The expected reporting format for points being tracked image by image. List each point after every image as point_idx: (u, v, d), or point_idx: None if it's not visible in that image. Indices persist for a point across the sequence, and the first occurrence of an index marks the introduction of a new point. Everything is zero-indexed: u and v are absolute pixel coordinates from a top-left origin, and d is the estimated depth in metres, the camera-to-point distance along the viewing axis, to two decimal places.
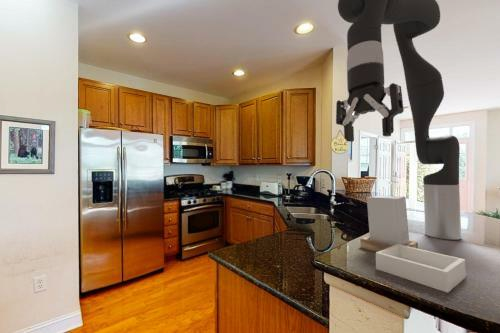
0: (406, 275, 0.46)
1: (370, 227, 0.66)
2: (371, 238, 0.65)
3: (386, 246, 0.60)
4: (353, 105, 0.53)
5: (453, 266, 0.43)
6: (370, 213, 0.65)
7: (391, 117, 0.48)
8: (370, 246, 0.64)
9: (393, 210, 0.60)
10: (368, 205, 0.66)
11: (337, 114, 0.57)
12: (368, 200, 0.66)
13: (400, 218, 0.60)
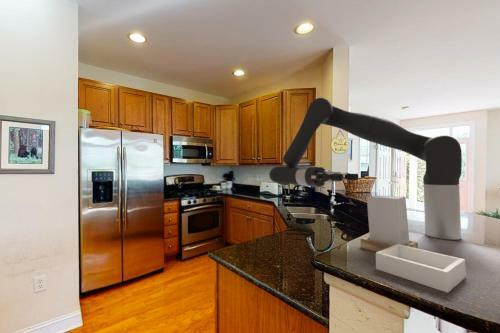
0: (406, 275, 0.46)
1: (370, 227, 0.66)
2: (371, 238, 0.65)
3: (386, 246, 0.60)
4: (332, 181, 0.81)
5: (453, 266, 0.43)
6: (370, 213, 0.65)
7: (329, 177, 0.74)
8: (370, 246, 0.64)
9: (393, 210, 0.60)
10: (368, 205, 0.66)
11: (343, 179, 0.83)
12: (368, 200, 0.66)
13: (400, 218, 0.60)
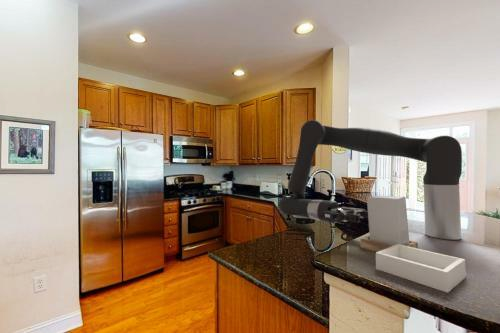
0: (406, 275, 0.46)
1: (370, 227, 0.66)
2: (371, 238, 0.65)
3: (386, 246, 0.60)
4: None
5: (453, 266, 0.43)
6: (370, 213, 0.65)
7: (345, 218, 0.69)
8: (370, 246, 0.64)
9: (393, 210, 0.60)
10: (368, 205, 0.66)
11: None
12: (368, 200, 0.66)
13: (400, 218, 0.60)
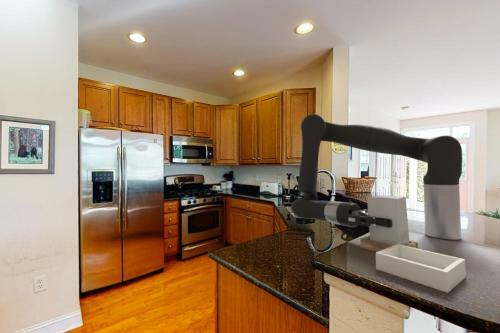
0: (406, 275, 0.46)
1: (370, 227, 0.66)
2: (371, 238, 0.65)
3: (386, 246, 0.60)
4: None
5: (453, 266, 0.43)
6: (370, 213, 0.65)
7: (375, 222, 0.63)
8: (370, 246, 0.64)
9: (393, 210, 0.60)
10: (368, 205, 0.66)
11: None
12: (368, 200, 0.66)
13: (400, 218, 0.60)
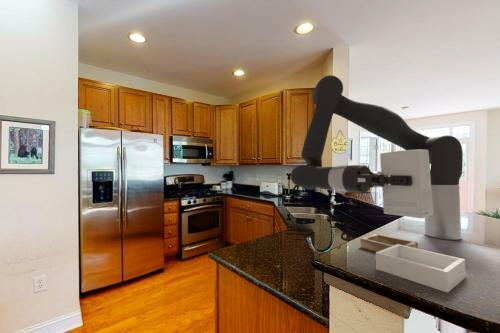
0: (406, 275, 0.46)
1: (384, 189, 0.54)
2: (385, 202, 0.54)
3: (386, 246, 0.60)
4: None
5: (453, 266, 0.43)
6: (384, 172, 0.54)
7: (390, 181, 0.51)
8: (370, 246, 0.64)
9: (414, 164, 0.49)
10: (382, 162, 0.55)
11: None
12: (382, 156, 0.55)
13: (422, 174, 0.49)
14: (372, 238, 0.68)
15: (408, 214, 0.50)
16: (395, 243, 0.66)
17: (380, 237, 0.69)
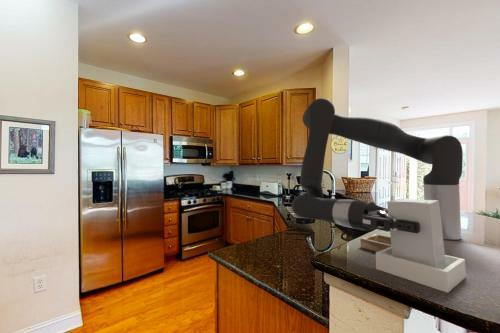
0: (406, 275, 0.46)
1: (392, 240, 0.51)
2: (394, 254, 0.51)
3: (386, 246, 0.60)
4: None
5: (453, 266, 0.43)
6: None
7: (396, 226, 0.48)
8: (370, 246, 0.64)
9: (425, 219, 0.46)
10: (389, 211, 0.51)
11: None
12: (389, 205, 0.51)
13: (434, 229, 0.46)
14: (372, 238, 0.68)
15: None
16: None
17: (380, 237, 0.69)
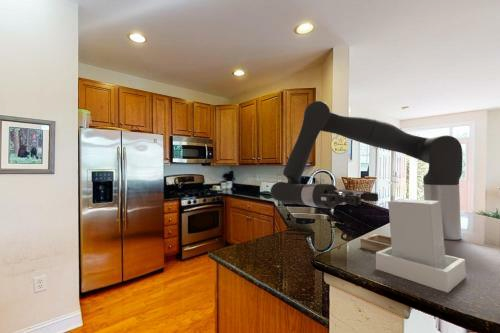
0: (406, 275, 0.46)
1: (393, 240, 0.51)
2: (394, 254, 0.51)
3: (386, 246, 0.60)
4: None
5: (453, 266, 0.43)
6: (393, 222, 0.51)
7: (344, 200, 0.60)
8: (370, 246, 0.64)
9: (426, 219, 0.46)
10: (390, 212, 0.51)
11: None
12: (390, 205, 0.51)
13: (435, 230, 0.45)
14: (372, 238, 0.68)
15: None
16: None
17: (380, 237, 0.69)
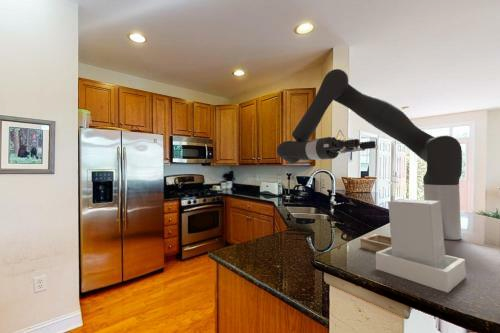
0: (406, 275, 0.46)
1: (393, 240, 0.51)
2: (394, 254, 0.51)
3: (386, 246, 0.60)
4: None
5: (453, 266, 0.43)
6: (393, 223, 0.51)
7: (344, 144, 0.67)
8: (370, 246, 0.64)
9: (426, 219, 0.46)
10: (390, 212, 0.51)
11: (357, 150, 0.77)
12: (390, 205, 0.51)
13: (435, 230, 0.45)
14: (372, 238, 0.68)
15: None
16: None
17: (380, 237, 0.69)
